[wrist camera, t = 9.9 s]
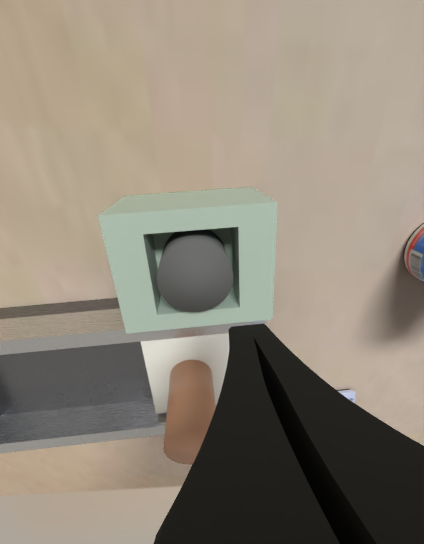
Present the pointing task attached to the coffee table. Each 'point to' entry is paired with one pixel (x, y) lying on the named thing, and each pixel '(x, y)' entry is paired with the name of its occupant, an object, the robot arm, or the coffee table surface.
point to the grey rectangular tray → (77, 375)
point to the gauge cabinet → (186, 217)
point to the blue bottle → (416, 254)
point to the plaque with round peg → (186, 388)
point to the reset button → (194, 271)
